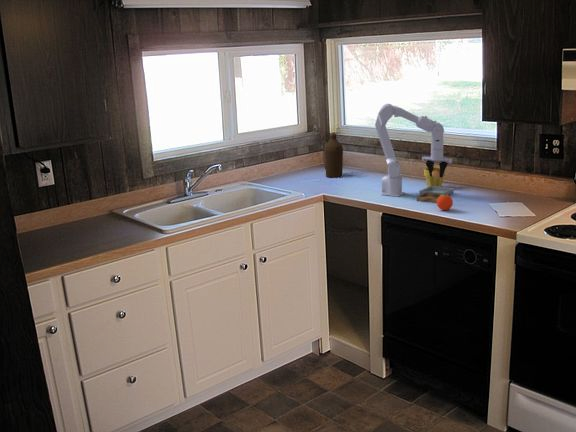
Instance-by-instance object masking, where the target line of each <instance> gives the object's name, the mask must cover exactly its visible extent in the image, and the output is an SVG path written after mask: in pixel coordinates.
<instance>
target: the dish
mask: <svg viewBox="0 0 576 432" xmlns="http://www.w3.org/2000/svg"><path fill="white" fill-rule="evenodd" d="M424 193H431V194H440V195H449V196H450V195H452V194H454V188H453V187H447V186H446V187H444V186H441V187H436V186H429V187H427V186H426V187H425V188H422V189H420V190H419V193H418V194H419V195H418V196H420V195H422V194H424Z"/></svg>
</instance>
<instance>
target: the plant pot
mask: <svg viewBox="0 0 576 432" xmlns="http://www.w3.org/2000/svg"><path fill="white" fill-rule="evenodd" d="M434 169H439V170H440V166H434V168H433V170H434ZM423 175H424V177H425V180H426V188H427V187H429V186H436V187H442V186H443V185H442V184H443V182H444V181H443V180H444V177H445V176H446V170H445V171H444V175H443V177H442V178H441V177H439V178H434V177H433V176H432V177H430V173H429V170H428V167H425V168H424V169H423Z"/></svg>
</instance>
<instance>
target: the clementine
mask: <svg viewBox="0 0 576 432" xmlns="http://www.w3.org/2000/svg"><path fill="white" fill-rule="evenodd" d="M453 204H454V201H453V198H452V197H451V196H450V195H441V196H440V197H439V198H438V199H437V203H436V206H437V207H438V209H440V210H442V211H449V210H450V209H451V208H452V207H453Z"/></svg>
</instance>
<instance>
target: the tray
mask: <svg viewBox="0 0 576 432" xmlns="http://www.w3.org/2000/svg"><path fill="white" fill-rule="evenodd" d="M440 196H441V195H440V194H431V193H424V194H422V195H420V196H419V195H418V196H416V201H417V202H422V203H431V204H437V199H438V198H439V197H440Z"/></svg>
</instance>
